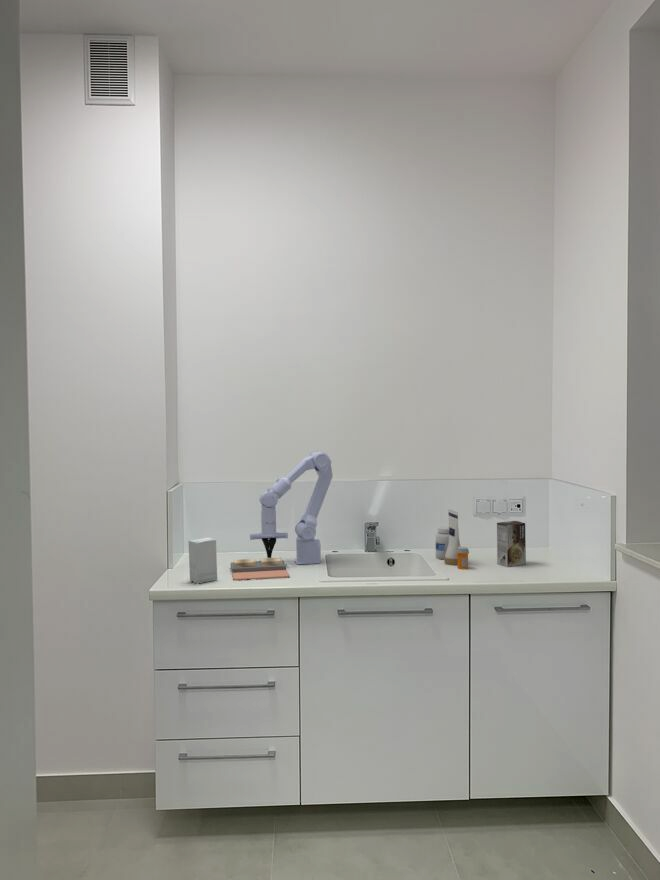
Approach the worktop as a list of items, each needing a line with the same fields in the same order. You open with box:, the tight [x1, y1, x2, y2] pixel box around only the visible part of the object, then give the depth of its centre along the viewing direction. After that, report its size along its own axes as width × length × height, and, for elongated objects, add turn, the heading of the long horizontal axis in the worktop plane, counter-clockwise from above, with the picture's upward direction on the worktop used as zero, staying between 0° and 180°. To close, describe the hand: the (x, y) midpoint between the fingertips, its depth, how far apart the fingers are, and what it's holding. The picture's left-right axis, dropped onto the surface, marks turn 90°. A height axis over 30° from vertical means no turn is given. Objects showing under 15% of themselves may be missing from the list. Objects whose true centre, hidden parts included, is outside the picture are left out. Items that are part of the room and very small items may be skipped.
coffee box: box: [496, 520, 527, 568], centre depth 268 cm, size 9×6×16 cm
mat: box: [231, 569, 291, 581], centre depth 254 cm, size 20×10×1 cm, turn 101°
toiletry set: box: [435, 509, 470, 570], centre depth 272 cm, size 25×8×20 cm, turn 11°
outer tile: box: [233, 558, 256, 567], centre depth 263 cm, size 8×6×2 cm
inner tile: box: [259, 557, 284, 566], centre depth 265 cm, size 8×6×2 cm
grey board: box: [230, 560, 287, 574], centre depth 265 cm, size 20×11×2 cm, turn 101°
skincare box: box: [188, 536, 218, 584], centre depth 247 cm, size 8×6×15 cm
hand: (269, 557), depth 272 cm, fingers closed
